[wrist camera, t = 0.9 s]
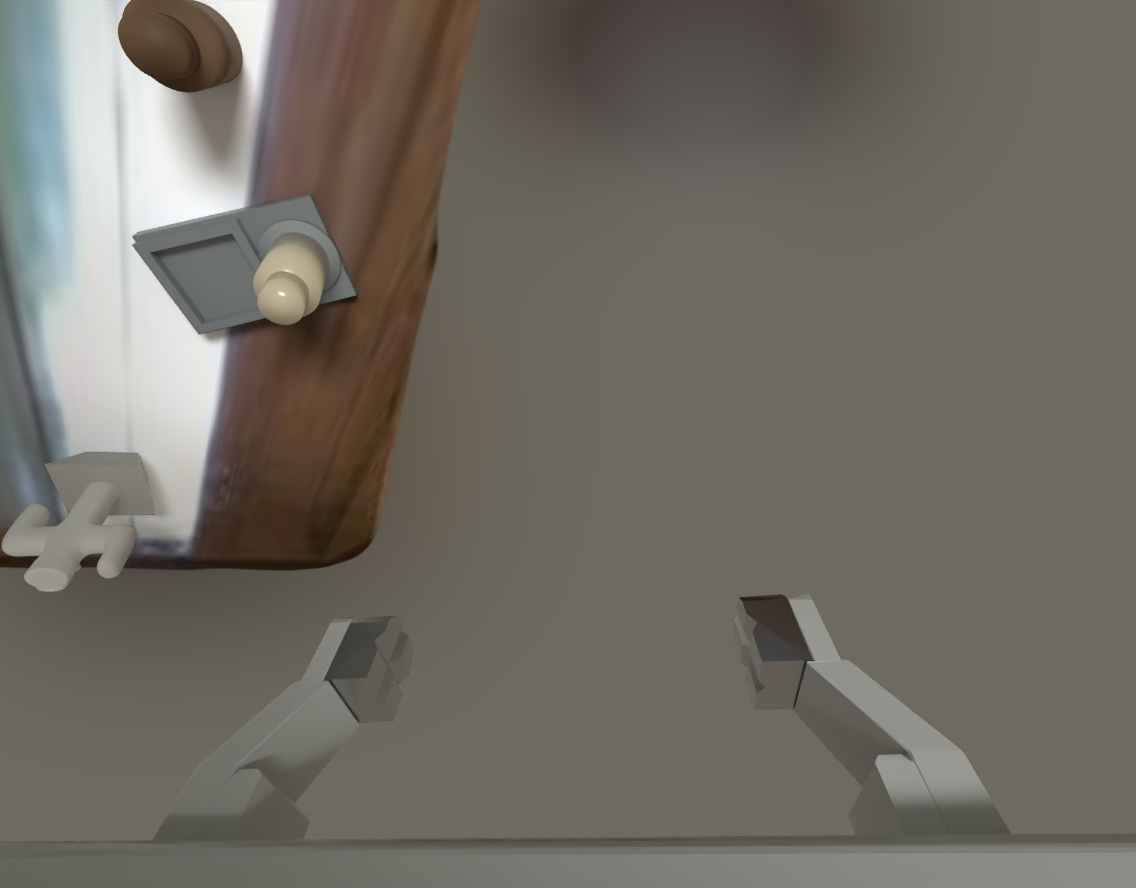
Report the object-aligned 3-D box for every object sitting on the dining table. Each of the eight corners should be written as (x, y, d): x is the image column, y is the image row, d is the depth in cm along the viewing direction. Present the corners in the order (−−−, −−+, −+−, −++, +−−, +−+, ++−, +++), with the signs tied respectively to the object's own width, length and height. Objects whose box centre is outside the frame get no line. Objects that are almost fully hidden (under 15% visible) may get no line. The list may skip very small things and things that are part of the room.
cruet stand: (207, 327, 46) (164, 396, 38) (137, 231, 40) (67, 287, 32) (359, 289, 48) (351, 347, 39) (314, 191, 42) (292, 234, 33)
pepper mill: (170, 71, 35) (111, 82, 28) (157, -12, 32) (87, -25, 25) (245, 92, 37) (207, 107, 29) (238, 14, 34) (195, 10, 27)
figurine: (49, 440, 49) (-51, 558, 38) (163, 443, 53) (102, 552, 42) (73, 491, 53) (-11, 611, 42) (178, 491, 57) (125, 602, 46)
